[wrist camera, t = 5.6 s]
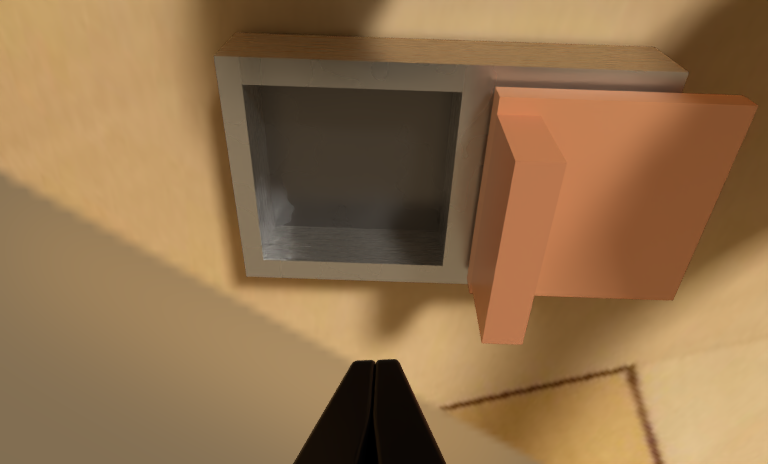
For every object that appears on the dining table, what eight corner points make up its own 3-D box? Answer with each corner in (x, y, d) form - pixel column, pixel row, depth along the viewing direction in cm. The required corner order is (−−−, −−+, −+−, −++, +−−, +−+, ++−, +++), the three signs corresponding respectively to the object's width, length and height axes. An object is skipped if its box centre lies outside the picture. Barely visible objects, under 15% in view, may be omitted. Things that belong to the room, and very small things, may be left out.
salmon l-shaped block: (743, 95, 15) (826, 152, 12) (663, 285, 19) (712, 362, 16) (495, 86, 15) (519, 141, 12) (466, 278, 19) (479, 354, 16)
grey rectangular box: (654, 46, 17) (689, 72, 15) (592, 248, 22) (613, 288, 20) (235, 32, 17) (213, 56, 15) (260, 237, 22) (246, 276, 20)
